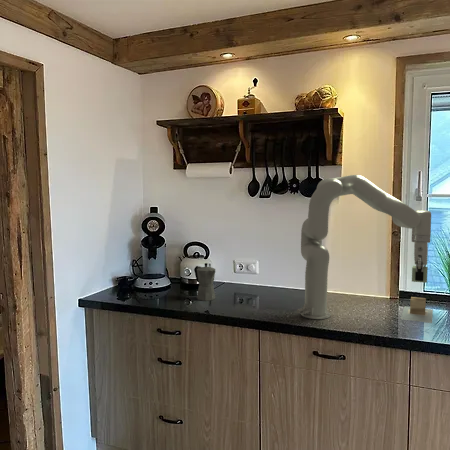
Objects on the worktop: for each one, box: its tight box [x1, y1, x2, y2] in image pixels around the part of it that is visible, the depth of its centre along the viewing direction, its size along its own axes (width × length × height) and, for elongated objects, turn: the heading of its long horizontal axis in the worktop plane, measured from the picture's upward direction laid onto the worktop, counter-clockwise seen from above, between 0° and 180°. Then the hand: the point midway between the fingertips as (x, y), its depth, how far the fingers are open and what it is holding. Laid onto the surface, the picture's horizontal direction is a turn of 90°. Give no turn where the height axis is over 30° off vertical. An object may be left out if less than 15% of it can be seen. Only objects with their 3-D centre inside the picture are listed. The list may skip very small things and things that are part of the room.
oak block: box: [409, 296, 427, 315], centre depth 196 cm, size 6×6×6 cm
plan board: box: [400, 306, 434, 324], centre depth 194 cm, size 22×12×1 cm, turn 154°
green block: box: [411, 265, 428, 284], centre depth 195 cm, size 6×6×6 cm
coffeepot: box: [193, 262, 217, 302], centre depth 222 cm, size 15×9×18 cm, turn 44°
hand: (419, 278), depth 195 cm, fingers closed on green block, 6 cm apart
